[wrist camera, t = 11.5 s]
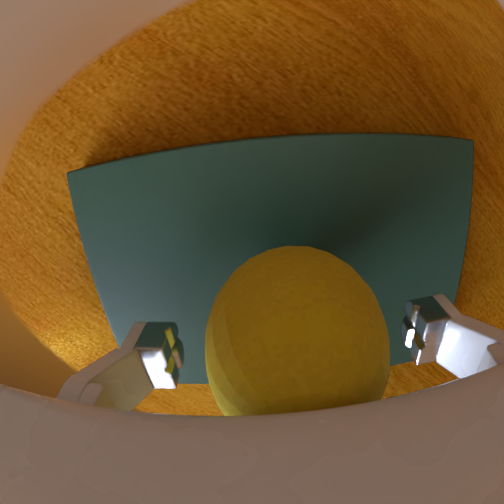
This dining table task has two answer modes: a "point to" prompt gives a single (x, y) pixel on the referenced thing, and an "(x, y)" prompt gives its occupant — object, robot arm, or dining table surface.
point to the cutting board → (272, 222)
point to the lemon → (295, 336)
